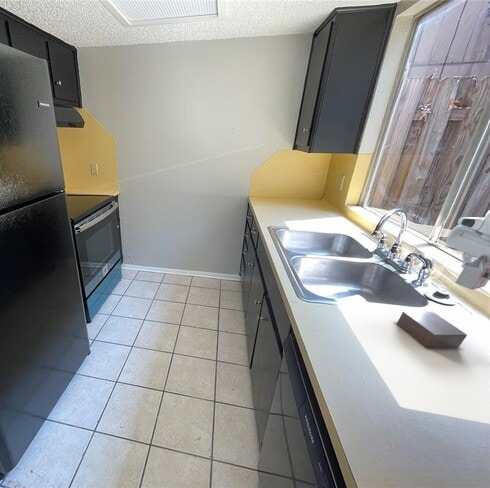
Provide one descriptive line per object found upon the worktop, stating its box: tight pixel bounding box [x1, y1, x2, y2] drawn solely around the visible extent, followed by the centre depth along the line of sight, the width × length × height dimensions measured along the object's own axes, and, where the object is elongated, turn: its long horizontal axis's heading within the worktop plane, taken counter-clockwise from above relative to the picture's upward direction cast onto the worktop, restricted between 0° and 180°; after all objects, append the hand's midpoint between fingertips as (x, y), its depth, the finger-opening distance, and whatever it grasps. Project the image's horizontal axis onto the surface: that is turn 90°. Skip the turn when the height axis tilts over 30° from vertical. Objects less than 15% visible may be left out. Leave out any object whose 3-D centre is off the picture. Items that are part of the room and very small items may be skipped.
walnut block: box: [396, 311, 468, 349], centre depth 78 cm, size 10×10×5 cm
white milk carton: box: [454, 255, 490, 291], centre depth 74 cm, size 4×7×10 cm, turn 109°
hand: (476, 273), depth 74 cm, fingers closed on white milk carton, 4 cm apart
